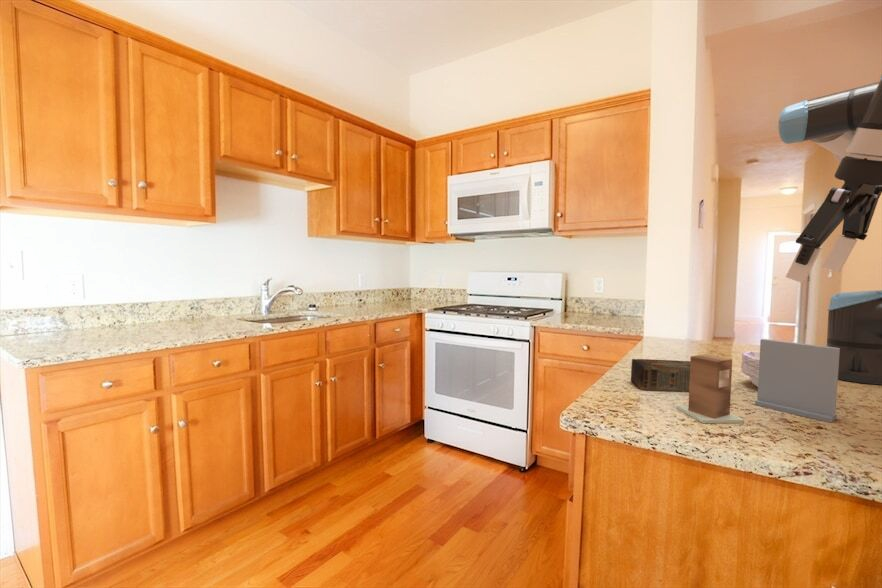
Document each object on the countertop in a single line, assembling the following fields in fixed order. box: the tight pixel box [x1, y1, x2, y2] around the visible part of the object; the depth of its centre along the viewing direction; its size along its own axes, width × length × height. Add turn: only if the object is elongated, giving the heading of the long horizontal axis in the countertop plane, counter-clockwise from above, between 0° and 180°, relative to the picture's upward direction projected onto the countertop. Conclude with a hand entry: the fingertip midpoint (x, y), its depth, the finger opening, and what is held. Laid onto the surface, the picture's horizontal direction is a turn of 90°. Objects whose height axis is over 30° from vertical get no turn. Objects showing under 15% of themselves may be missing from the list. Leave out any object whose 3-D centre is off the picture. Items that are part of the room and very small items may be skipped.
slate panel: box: [754, 338, 840, 423], centre depth 82 cm, size 12×4×14 cm, turn 33°
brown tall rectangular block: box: [688, 353, 733, 419], centre depth 80 cm, size 5×5×11 cm
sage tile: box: [676, 404, 745, 424], centre depth 80 cm, size 8×8×1 cm
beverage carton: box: [630, 358, 690, 393], centre depth 99 cm, size 8×19×7 cm, turn 84°
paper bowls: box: [740, 350, 760, 388], centre depth 97 cm, size 15×15×8 cm
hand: (813, 274), depth 76 cm, fingers open, 13 cm apart
